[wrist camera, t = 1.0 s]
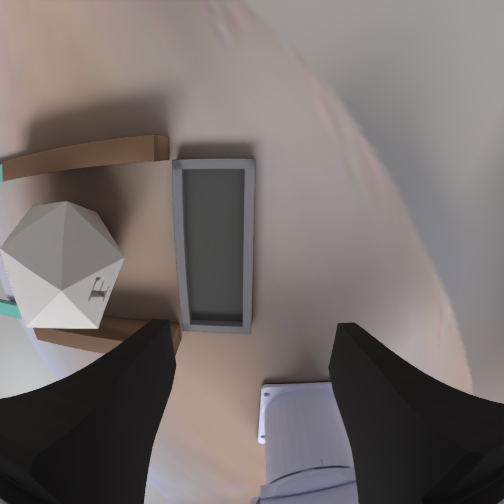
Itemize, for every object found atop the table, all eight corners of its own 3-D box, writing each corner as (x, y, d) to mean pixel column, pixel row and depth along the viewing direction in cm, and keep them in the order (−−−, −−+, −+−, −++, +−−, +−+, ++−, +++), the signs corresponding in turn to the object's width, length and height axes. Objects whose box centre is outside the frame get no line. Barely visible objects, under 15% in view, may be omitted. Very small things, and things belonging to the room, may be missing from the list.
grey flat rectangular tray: (251, 326, 21) (251, 333, 20) (185, 323, 21) (183, 330, 20) (255, 159, 17) (255, 159, 16) (176, 159, 17) (172, 159, 16)
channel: (181, 338, 22) (172, 362, 19) (53, 322, 22) (37, 339, 19) (169, 137, 17) (154, 134, 14) (26, 158, 17) (2, 161, 14)
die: (89, 309, 22) (111, 373, 15) (2, 276, 16) (-23, 331, 9) (123, 223, 22) (160, 248, 15) (36, 180, 17) (18, 179, 10)
